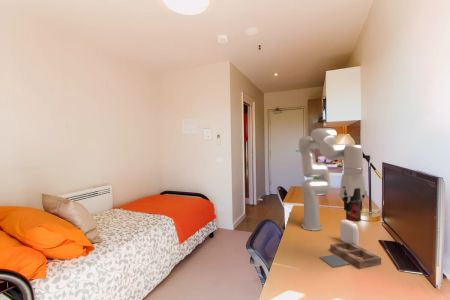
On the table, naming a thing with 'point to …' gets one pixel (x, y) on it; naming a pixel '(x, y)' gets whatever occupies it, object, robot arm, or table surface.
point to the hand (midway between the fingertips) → (352, 209)
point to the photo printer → (349, 232)
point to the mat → (334, 261)
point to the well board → (355, 254)
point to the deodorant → (355, 207)
